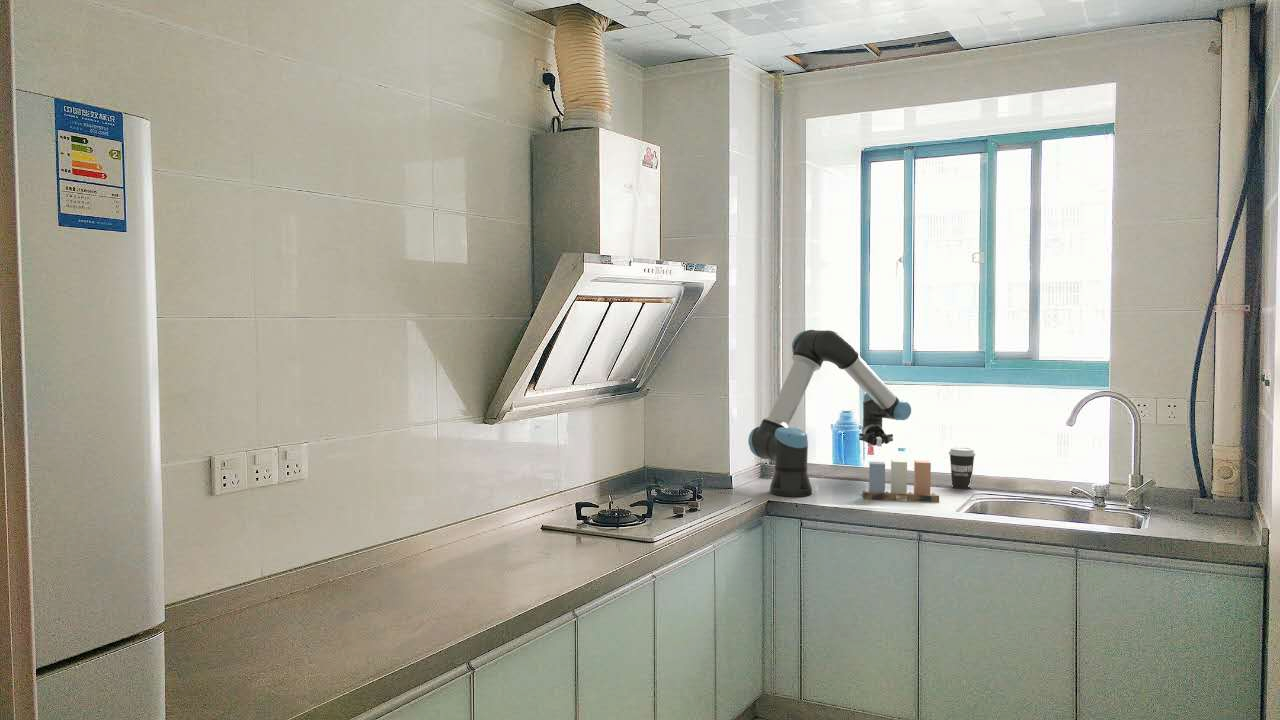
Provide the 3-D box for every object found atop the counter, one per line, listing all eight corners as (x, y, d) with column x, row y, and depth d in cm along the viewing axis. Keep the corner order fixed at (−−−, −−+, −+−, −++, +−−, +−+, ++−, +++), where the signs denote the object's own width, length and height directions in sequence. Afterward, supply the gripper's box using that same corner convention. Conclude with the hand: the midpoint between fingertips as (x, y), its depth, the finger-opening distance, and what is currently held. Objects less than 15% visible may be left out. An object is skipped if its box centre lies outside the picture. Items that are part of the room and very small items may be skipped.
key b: (892, 495, 320) (892, 461, 320) (890, 492, 325) (891, 459, 325) (906, 495, 319) (907, 462, 319) (905, 493, 324) (905, 460, 324)
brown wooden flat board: (864, 501, 315) (864, 493, 314) (861, 493, 330) (861, 485, 329) (939, 504, 310) (939, 495, 310) (933, 496, 325) (933, 487, 325)
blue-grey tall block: (869, 497, 316) (870, 463, 315) (869, 495, 321) (869, 461, 320) (884, 498, 315) (885, 464, 314) (883, 495, 320) (884, 462, 319)
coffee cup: (942, 487, 342) (943, 447, 342) (961, 485, 346) (962, 446, 346) (961, 491, 334) (961, 451, 333) (980, 489, 338) (981, 449, 337)
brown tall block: (915, 496, 319) (916, 462, 318) (913, 493, 324) (914, 460, 323) (930, 496, 318) (930, 463, 317) (928, 494, 323) (928, 460, 322)
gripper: (891, 444, 354) (897, 453, 331) (857, 443, 356) (861, 452, 333) (891, 425, 354) (898, 433, 330) (857, 424, 356) (861, 432, 333)
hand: (879, 442), depth 332 cm, fingers closed
